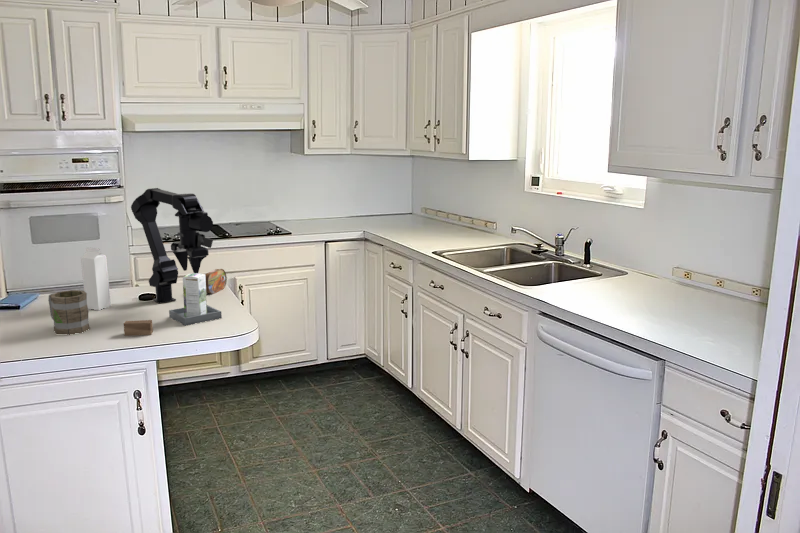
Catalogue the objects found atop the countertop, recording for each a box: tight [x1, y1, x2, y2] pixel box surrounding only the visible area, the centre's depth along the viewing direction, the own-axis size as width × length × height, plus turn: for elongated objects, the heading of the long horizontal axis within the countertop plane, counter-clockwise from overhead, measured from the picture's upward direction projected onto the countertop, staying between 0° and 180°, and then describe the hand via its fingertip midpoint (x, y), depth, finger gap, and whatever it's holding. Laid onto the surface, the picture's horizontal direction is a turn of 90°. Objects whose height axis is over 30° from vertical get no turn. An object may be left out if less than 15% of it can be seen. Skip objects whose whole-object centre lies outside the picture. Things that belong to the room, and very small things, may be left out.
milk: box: [80, 247, 112, 311], centre depth 242 cm, size 6×6×22 cm
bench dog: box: [123, 319, 154, 337], centre depth 214 cm, size 3×8×4 cm, turn 98°
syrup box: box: [182, 272, 208, 318], centre depth 230 cm, size 6×6×14 cm
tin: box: [204, 268, 228, 295], centre depth 268 cm, size 15×3×8 cm, turn 167°
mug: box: [48, 289, 91, 336], centre depth 218 cm, size 16×11×12 cm
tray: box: [168, 304, 223, 326], centre depth 232 cm, size 13×13×2 cm
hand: (190, 272), depth 243 cm, fingers open, 9 cm apart
